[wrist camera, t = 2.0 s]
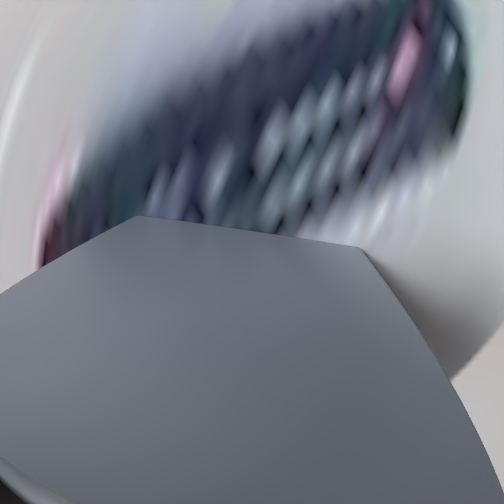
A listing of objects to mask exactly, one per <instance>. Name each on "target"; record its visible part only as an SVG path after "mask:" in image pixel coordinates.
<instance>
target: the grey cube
mask: <svg viewBox="0 0 504 504" xmlns="http://www.w3.org/2000/svg"><path fill="white" fill-rule="evenodd" d="M0 481H1V482H2V483H3V484H4V485H6V486H7V487H8V488H9V489H10V490H11V491H12V492H13V493H14V494H16V495H17V496H18V497H19V498H20V499H21V500H23V501H24V502H25V503H26V504H504V493H503V490H502V487H501V485H500V482H499V480H498V477H497V475H496V473H495V470H494V468H493V466H492V463H491V461H490V458H489V456H488V454H487V452H486V450H485V448H484V445H483V444H482V442H481V439H480V437H479V435H478V433H477V431H476V429H475V427H474V425H473V423H472V421H471V419H470V417H469V415H468V413H467V411H466V409H465V407H464V406H463V404H462V402H461V400H460V398H459V396H458V395H457V393H456V391H455V389H454V388H453V386H452V384H451V382H450V380H449V379H448V377H447V375H446V374H445V372H444V370H443V368H442V367H441V365H440V363H439V362H438V360H437V359H436V357H435V355H434V354H433V352H432V350H431V349H430V347H429V346H428V344H427V342H426V341H425V339H424V338H423V336H422V335H421V333H420V332H419V330H418V329H417V327H416V325H415V324H414V322H413V321H412V319H411V318H410V316H409V315H408V314H407V312H406V311H405V309H404V308H403V306H402V305H401V303H400V302H399V300H398V299H397V298H396V296H395V295H394V293H393V292H392V290H391V289H390V288H389V286H388V285H387V284H386V282H385V281H384V279H383V278H382V277H381V275H380V274H379V273H378V271H377V270H376V269H375V267H374V266H373V264H372V263H371V262H370V260H369V259H368V258H367V257H366V255H365V254H364V253H363V251H362V250H361V249H360V248H357V247H351V246H345V245H339V244H333V243H327V242H320V241H314V240H308V239H301V238H295V237H288V236H282V235H275V234H269V233H262V232H255V231H248V230H241V229H234V228H227V227H220V226H213V225H206V224H199V223H192V222H184V221H177V220H169V219H161V218H154V217H146V216H138V215H137V216H135V217H133V218H131V219H129V220H127V221H125V222H123V223H121V224H119V225H117V226H115V227H114V228H112V229H110V230H108V231H106V232H104V233H102V234H100V235H98V236H97V237H95V238H93V239H91V240H89V241H87V242H85V243H84V244H82V245H80V246H78V247H76V248H75V249H73V250H71V251H69V252H68V253H66V254H64V255H62V256H61V257H59V258H57V259H56V260H54V261H52V262H50V263H49V264H47V265H45V266H44V267H42V268H40V269H39V270H37V271H36V272H34V273H32V274H31V275H29V276H28V277H26V278H24V279H23V280H21V281H20V282H18V283H17V284H15V285H13V286H12V287H10V288H9V289H7V290H6V291H4V292H3V293H1V294H0Z"/></svg>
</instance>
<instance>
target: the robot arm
mask: <svg viewBox="0 0 504 504" xmlns="http://www.w3.org/2000/svg"><path fill="white" fill-rule="evenodd" d="M0 504H26V503H25V502H24V501H23V500H21V499H20V498H19V497H18V496H17V495H16V494H14V493H13V492H12V491H11V490H10V489H9V488H8V487H7V486H6V485H4V484H3V483H2V482H1V481H0Z"/></svg>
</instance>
